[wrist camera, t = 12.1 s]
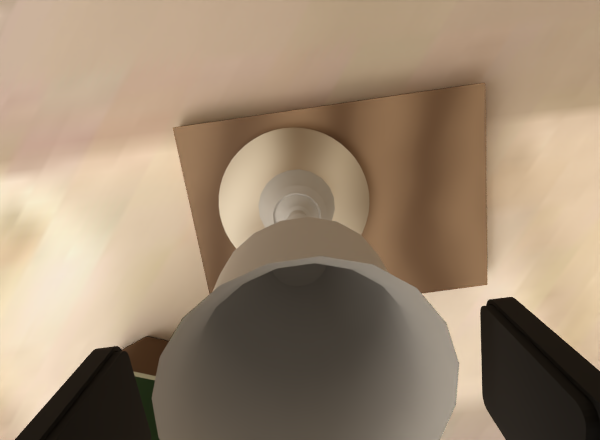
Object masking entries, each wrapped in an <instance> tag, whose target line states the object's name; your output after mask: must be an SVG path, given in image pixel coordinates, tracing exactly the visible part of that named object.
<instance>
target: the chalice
mask: <svg viewBox="0 0 600 440" xmlns="http://www.w3.org/2000/svg"><path fill="white" fill-rule="evenodd" d="M258 206H259V214H260V218H261V220H262V223H263V225H264V227H265V228H264V229H262V230H260V231H258V232H255V233H254V234H253V235H251V236H250V237H249V238H248V239H247V240H246V241H245V242H244V243H243V244H241V245H240V246H239V247H238V248H237V249H236V250H235V251H234V252H233V253H232V255H231V257H230V258H229V260H228V262H227V263H226V265H225V267H224V268H223V270H222V272H221V273H220V275H219V278H218V280H217V282H216V285H215V287H214V289H213V292H212V293H211V294H210V295H208V296H207V297H206V298H205V299H204V300H203V301H202V302H200V303H199V304H198V305H197V306H196V307H195V308H194V309H193V310H191V311H190V312H189V313H188V314H187V315H186V316H185V317H183V319H182V320H181V322H180V324H179V325H178V327H177V329H176V330H175V332H174V334H173V335H172V337H171V339H170V340H169V342H168V344H167V346H166V347H165V349H164V351H163V352H162V354H161V356H160V358H159V363H158V368H157V373H156V378H155V383H154V388H153V394H152V403H153V409H154V415H155V420H156V426H157V432H158V437H159V439H160V440H440V439H441V437H442V434H443V432H444V430H445V428H446V425H447V423H448V421H449V419H450V416H451V414H452V412H453V410H454V407H455V405H456V396H457V383H458V370H459V362H458V359H457V355H456V352H455V349H454V346H453V343H452V340H451V337H450V333H449V330H448V327H447V324H446V322H445V321H444V320H443V319H442V317H441V316H440V315H439V314H438V313H437V311H436V310H435V309H434V308H433V307H432V306H431V304H430V303H429V302H428V301H427V300H426V298H425V297H424V296H423V295H422V294H421V293H420V291H419V290H418V289H417V288H416V287H414V286H412V285H410V284H408V283H406V282H404V281H403V280H401V279H399V278H397V277H395V276H393V275H392V274H390V273H389V272H388V271H387V269H386V267H385V266H384V264H383V262H382V260H381V259H380V257H379V255H378V254H377V253H376V252H375V250H374V249H373V248H372V247H371V246H370V245H369V243H368V242H367V241H366V240H365V239H364V238H363V236H362V235H360V234H359V233H357V232H355V231H353V230H351V229H350V228H348V227H346V226H344V225H342V224H341V223H339V222H337V221H332V218H333V214H334V210H335V206H334V197H333V194H332V192H331V189H330V187H329V186H328V185H327V184H326V182H325V181H324V180H323V179H322V178H321V177H319V176H317V175H316V174H314V173H312V172H309V171H305V170H300V169H298V170H288V171H285V172H283V173H280V174H278V175H276V176H275V177H274V178H273V179H271V180H270V181H269V182H268V183H267V184H266V186H265V188H264V189H263V191H262V193H261V195H260V200H259V205H258Z"/></svg>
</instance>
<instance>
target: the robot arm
mask: <svg viewBox="0 0 600 440" xmlns="http://www.w3.org/2000/svg"><path fill="white" fill-rule="evenodd" d="M480 315H481V355H482V394H483V400H484V404H485V406H486V409H487V411H488V412H489V414H490V415H491V417H492V419H493V420H494V422H495V423H496V425H497V426H498V428H499V430H500V431H501V433H502V434H503V436H504V437H505V439H506V440H600V371H599V370H598V369H597V368H595V367H594V366H593V365H592V364H591V363H590V362H588V361H587V360H586V359H585V358H584V357H582V356H581V355H580V354H579V353H578V352H577V351H575V350H574V349H573V348H572V347H571V346H570V345H568V344H567V343H566V342H565V341H564V340H563V339H561V338H560V337H559V336H558V335H557V334H556V333H554V332H553V331H552V330H551V329H550V328H549V327H547V326H546V325H545V324H544V323H543V322H542V321H540V320H539V319H538V318H537V317H536V316H535V315H533V314H532V313H531V312H530V311H529V310H528V309H526V308H525V307H524V306H523V305H522V304H521V303H519V302H518V301H517V300H516V299H515V298H513V297H507V298H499V299H491V300H488V301H487V305H486V306H482V307H481V312H480ZM15 440H151V432H150V428H149V425H148V421H147V418H146V414H145V411H144V407H143V404H142V400H141V397H140V393H139V389H138V386H137V382H136V379H135V375H134V372H133V368H132V365H131V361H130V358H129V355H128V353H127V352H126V351H122V349H121V348H120V347H118V346H115V347H107V348H99V349H95V350H93V351H92V352H91V354H90V355H89V356H88V357H87V358H86V359H85V360H84V362H83V363H82V364H81V365H80V366H79V367H78V368H77V370H76V371H75V372H74V373H73V374H72V375H71V376H70V377H69V379H68V380H67V381H66V382H65V383H64V384H63V385H62V387H61V388H60V389H59V390H58V391H57V392H56V393H55V395H54V396H53V397H52V398H51V399H50V400H49V401H48V403H47V404H46V405H45V406H44V407H43V408H42V409H41V411H40V412H39V413H38V414H37V415H36V416H35V417H34V418H33V420H32V421H31V422H30V423H29V424H28V425H27V426H26V428H25V429H24V430H23V431H22V432H21V433H20V434H19V436H18V437H17V438H16V439H15Z"/></svg>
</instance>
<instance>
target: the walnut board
mask: <svg viewBox="0 0 600 440" xmlns="http://www.w3.org/2000/svg"><path fill="white" fill-rule="evenodd" d="M173 131H174V135H175V140H176V144H177V149H178V153H179V158H180V162H181V167H182V171H183V176H184V181H185V185H186V190H187V194H188V199H189V203H190V208H191V212H192V217H193V221H194V226H195V230H196V235H197V239H198V244H199V248H200V253H201V257H202V262H203V266H204V271H205V275H206V280H207V284H208V289H209V293H210V294H211V293H212V292H213V289H214V287H215V285H216V282H217V280H218V278H219V275H220V273H221V272H222V270H223V268H224V267H225V265H226V263H227V262H228V260H229V258H230V257H231V255H232V253H233V252H234V251H235V250H236V249H237V248H238V247H239V246H240V245H241V244H243V243H244V242H245V241H246V240H247V239H248V238H249V237H250V236H251V235H253V234H254V233H255V232H258V231H260V230H262V229H264V228H265V227H264V225H263V223H262V220H261V218H260V214H259V206H258V205H259V200H260V195H261V193H262V191H263V189H264V188H265V186H266V184H267V183H268V182H269V181H270V180H271V179H273V178H274V177H275V176H276V175H278V174H280V173H283V172H285V171H288V170H298V169H300V170H305V171H309V172H312V173H314V174H316V175H317V176H319V177H321V178H322V179H323V180H324V181H325V182H326V184H327V185H328V186H329V187H330V189H331V192H332V194H333V197H334V206H335V210H334V214H333V218H332V221H337V222H339V223H341V224H342V225H344V226H346V227H348V228H350V229H351V230H353V231H355V232H357V233H359V234H360V235H362V236H363V238H364V239H365V240H366V241H367V242H368V243H369V245H370V246H371V247H372V248H373V249H374V250H375V252H376V253H377V254H378V255H379V257H380V259H381V260H382V262H383V264H384V266H385V267H386V269H387V271H388V272H389V273H390V274H392V275H393V276H395V277H397V278H399V279H401V280H403V281H404V282H406V283H408V284H410V285H412V286H414V287H416V288H417V289H418V290H419V291H420V293H428V292H436V291H443V290H451V289H458V288H466V287H474V286H481V285H487V204H486V102H485V83H479V84H471V85H465V86H458V87H451V88H444V89H437V90H430V91H423V92H416V93H409V94H402V95H395V96H388V97H381V98H375V99H368V100H361V101H354V102H347V103H340V104H333V105H326V106H319V107H312V108H305V109H298V110H291V111H284V112H278V113H271V114H264V115H257V116H250V117H243V118H236V119H229V120H222V121H215V122H208V123H201V124H194V125H188V126H181V127H175V128H173Z"/></svg>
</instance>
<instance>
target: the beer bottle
mask: <svg viewBox="0 0 600 440" xmlns="http://www.w3.org/2000/svg"><path fill="white" fill-rule="evenodd" d="M168 342H169V341H166V340H162V339H157V338H153V337H148V336H147V337H145V338H143V339H141V340H139V341H137V342H136V343H134V344H132V345H130V346H128V347H127V348H125V349H123V350H122V351H126V352H127V353H128V355H129V358H130V361H131V365H132V368H133V372H134V375H135V379H136V382H137V386H138V389H139V393H140V397H141V400H142V404H143V407H144V411H145V414H146V418H147V421H148V425H149V428H150V432H151V440H160V439H159V437H158V432H157V426H156V420H155V415H154V409H153V403H152V394H153V388H154V383H155V378H156V373H157V368H158V363H159V358H160V356H161V354H162V352H163V351H164V349H165V347H166V346H167V344H168Z"/></svg>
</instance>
